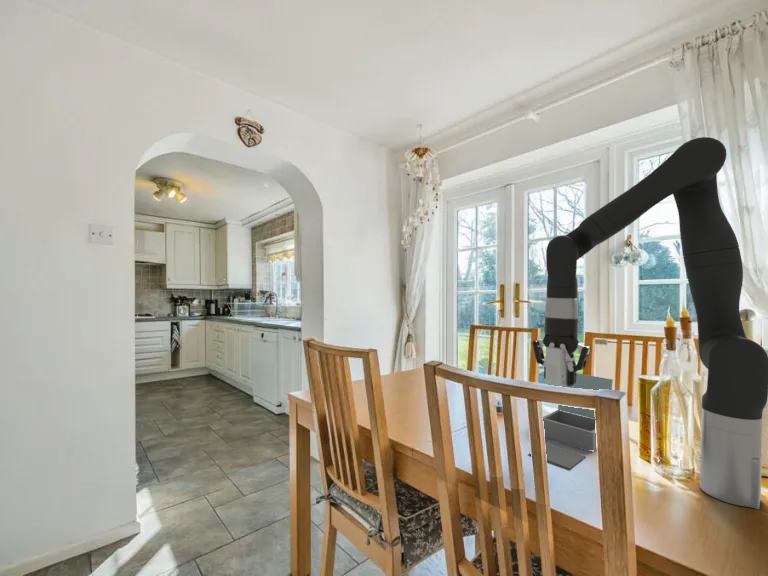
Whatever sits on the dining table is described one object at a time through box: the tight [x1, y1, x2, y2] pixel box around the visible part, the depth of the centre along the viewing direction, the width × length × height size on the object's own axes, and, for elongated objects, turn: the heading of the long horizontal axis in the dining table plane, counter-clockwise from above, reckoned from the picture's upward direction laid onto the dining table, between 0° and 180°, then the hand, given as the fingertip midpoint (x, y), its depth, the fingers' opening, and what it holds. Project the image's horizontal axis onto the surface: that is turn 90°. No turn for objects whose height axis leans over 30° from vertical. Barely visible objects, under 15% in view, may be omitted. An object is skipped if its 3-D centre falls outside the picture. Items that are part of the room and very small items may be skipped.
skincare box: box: [544, 346, 575, 388], centre depth 94 cm, size 6×4×12 cm
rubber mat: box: [528, 442, 587, 471], centre depth 94 cm, size 10×10×1 cm
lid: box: [557, 372, 614, 420], centre depth 111 cm, size 14×12×1 cm
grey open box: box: [542, 409, 597, 451], centre depth 106 cm, size 14×12×5 cm
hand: (559, 383), depth 94 cm, fingers closed on skincare box, 4 cm apart
